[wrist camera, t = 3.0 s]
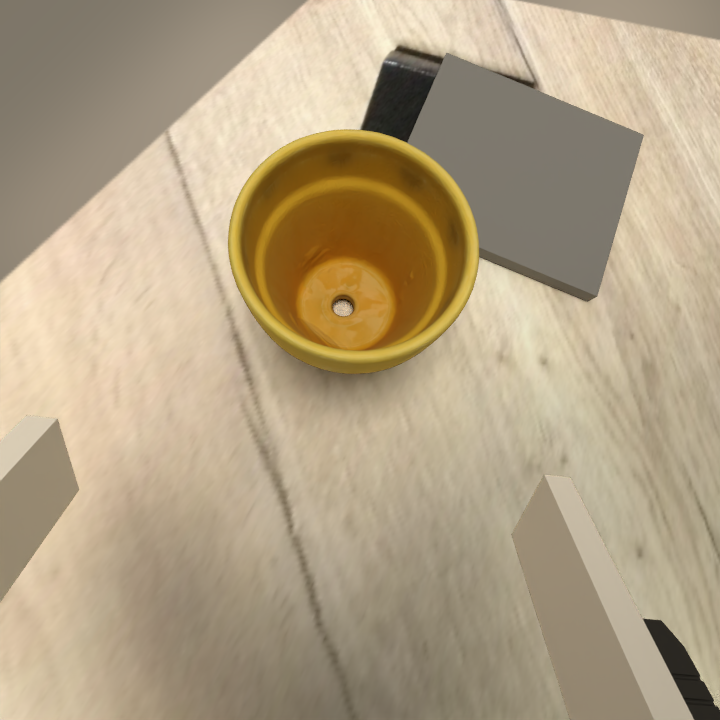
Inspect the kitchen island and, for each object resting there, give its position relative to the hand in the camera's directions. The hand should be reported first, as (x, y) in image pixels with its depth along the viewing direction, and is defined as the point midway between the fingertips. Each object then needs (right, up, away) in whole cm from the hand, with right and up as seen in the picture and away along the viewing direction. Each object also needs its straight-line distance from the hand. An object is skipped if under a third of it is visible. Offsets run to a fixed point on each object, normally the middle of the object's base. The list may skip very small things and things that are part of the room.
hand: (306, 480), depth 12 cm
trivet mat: (+12, +16, +18) cm, 27 cm away
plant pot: (+1, +6, +15) cm, 16 cm away
